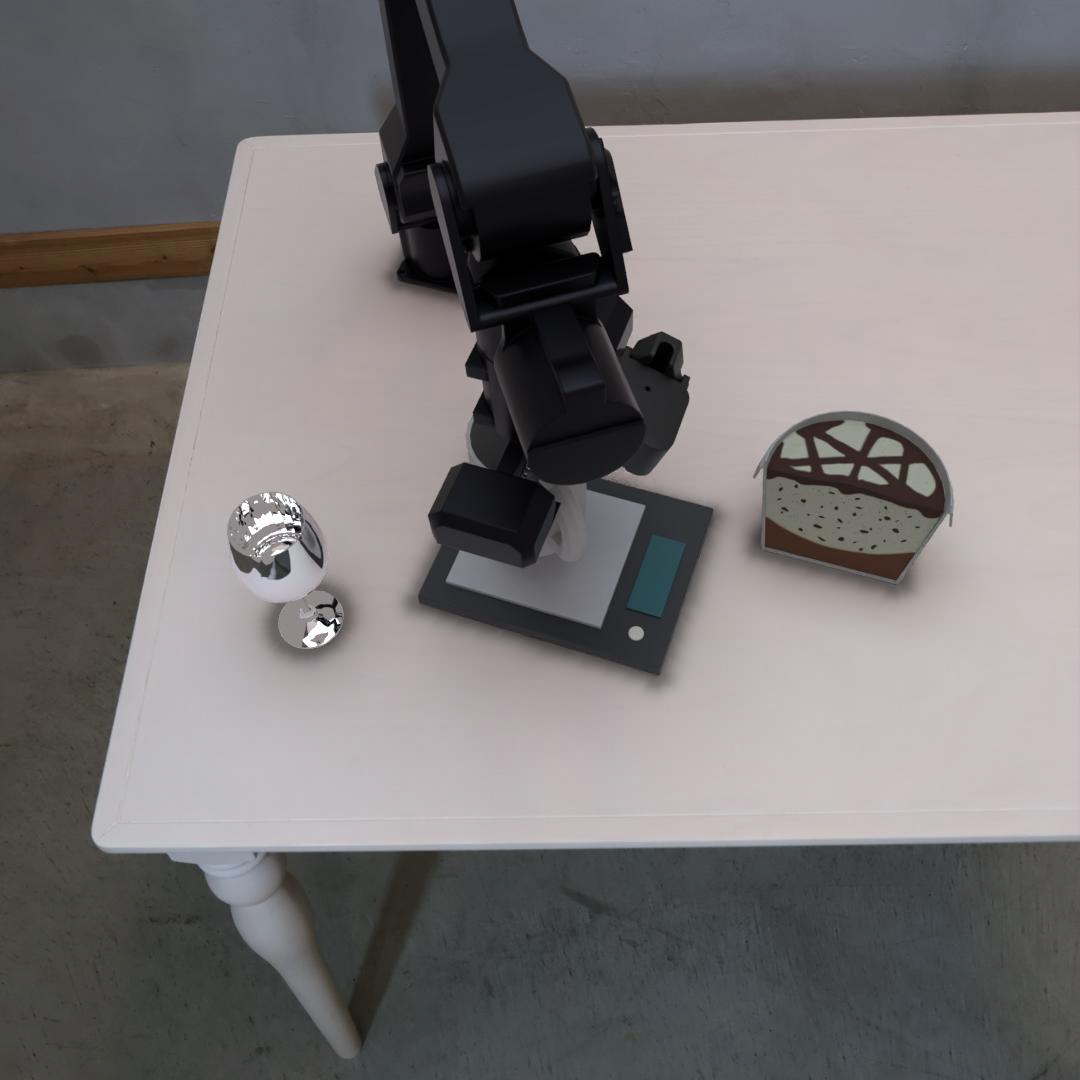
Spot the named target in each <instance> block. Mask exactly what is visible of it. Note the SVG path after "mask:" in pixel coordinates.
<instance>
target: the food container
mask: <svg viewBox="0 0 1080 1080" xmlns="http://www.w3.org/2000/svg"><path fill="white" fill-rule="evenodd" d="M761 469H762V497H761V498H762V499H761V500H762V503H761V532H760V533H761V535H760V537H761V538H760V543H761V544H760V550H762V551H766V552H769V553H773V554H778V555H782V556H786V557H789V558H792V559H797V560H800V561H804V562H808V563H813V564H817V565H820V566H824V567H828V568H831V569H836V570H839V571H844V572H847V573H851V574H855V575H859V576H863V577H867V578H870V579H874V580H878V581H882V582H886V583H890V584H893V585H899V584H900V583H901V581H902V580H903V579H904V577H905V576H906V574H907V573H908V572H909V570H910V569H911V568H912V566H913V564H914V563H915V561H916V560H917V559H918V557H919V556H920V554H922V552H923V550H924V549H925V547H926V546H927V544H928V543H929V541H930V540H931V538H932V537H933V536H934V534H935V533H936V531H937V530H938V529H939V527H940V526H941V524H942V523H943V521H945V518H946V517H948V515H949V521H948V522H949V523H948V527H949V528H951V527H953V520H954V509H955V507H954V506H955V497H954V488H953V486H952V481H951V477H950V474H949V472H948V470H947V468H946V465H945V464H944V461H943V460H942V457H940V455H939V453H937V451H936V450H935V448H934V447H933V446H931V444H930V443H929V442H928V441H927V440H926V439H925V438H924V437H922V436H921V435H919V434H918V433H917V432H916V431H914V430H913V429H911V428H910V427H908V426H906V425H904V424H903V423H901V422H898V421H896V420H894V419H891V418H889V417H887V416H883V415H880V414H877V413H873V412H866V411H861V410H836V411H835V410H834V411H833V410H832V411H828V412H822V413H818V414H814V415H812V416H809V417H806V418H804V419H802V420H800V421H798V422H796V423H794V424H792V425H791V426H790V427H789V428H787V429H786V430H785V431H783V432H782V433H781V434H780V435H778V437H777V438H776V439H775V440H774V441H773V442H772V443H771V444H770V445H769V447H768V449H767V450H766V451H765V452H764V455H763V456H762V458H761V460H760V461H759V463H758V465H757V466H756V469H755V471H754V473H753V476H752V479H756V478H757V477H758V475H759V473H760V472H761Z"/></svg>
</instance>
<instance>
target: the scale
mask: <svg viewBox="0 0 1080 1080" xmlns="http://www.w3.org/2000/svg"><path fill="white" fill-rule="evenodd" d="M586 491H587V507H586V515H585V525H586V531H587V537H588V546H587V550H586V552H585V554H584V555H583V556H582V557H581V559H579V560H578V561H574V562H566V561H564V560H562V559H561V558H560V557H559V556H558V555H557V554H556V553H552V554H550V555H547V556H541V557H538V559H537V562H536V563H535V564H532V565H530V566H528V567H525V568H523V569H522V568H519V567H516V566H512V565H509V564H505V563H502V562H498V561H495V560H492V559H488V558H485V557H481V556H478V555H474V554H471V553H467V552H464V551H461V550H457V549H454V548H450V547H447V546H443V545H440V547H439V550H438V552H437V554H436V556H435V559H434V560H433V563H432V564H431V567H430V569H429V571H428V573H427V575H426V577H425V579H424V582H423V584H422V586H421V588H420V590H419V592H418V594H417V599H418V602H419V603H420V604H422V605H426V606H429V607H432V608H435V609H439V610H442V611H446V612H449V613H452V614H455V615H458V616H461V617H465V618H469V619H471V620H474V621H475V620H476V621H479V622H482V623H485V624H488V625H492V626H494V627H495V626H496V627H497V628H501V629H506V630H508V631H510V632H511V631H512V632H515V633H517V634H522V635H525V636H527V637H532V638H535V639H538V640H541V641H544V642H548V643H551V644H555V645H558V646H561V647H564V648H568V649H571V650H575V651H578V652H580V653H584V654H588V655H591V656H594V657H597V658H600V659H603V660H607V661H611V662H614V663H617V664H620V665H624V666H627V667H630V668H633V669H636V670H637V669H638V670H641V671H644V672H647V673H650V674H653V675H657V676H659V675H661V673H662V669H663V666H664V664H665V663H664V662H665V660H666V657H667V654H668V652H669V648H670V645H671V642H672V640H673V636H674V633H675V630H676V627H677V624H678V622H679V618H680V615H681V612H682V610H683V607H684V604H685V599H686V597H687V594H688V591H689V588H690V585H691V582H692V579H693V576H694V573H695V571H696V568H697V564H698V561H699V558H700V554H701V552H702V549H703V546H704V543H705V540H706V537H707V534H708V531H709V529H710V525H711V522H712V519H713V515H714V508H713V507H709V506H706V505H703V504H698V503H695V502H691V501H688V500H683V499H680V498H676V497H672V496H668V495H665V494H660V493H657V492H653V491H651V490H646V489H642V488H639V487H633V486H631V485H628V484H627V485H626V484H624V483H618V482H616V481H612V480H609V479H604V478H599V479H597V480H594V481H591V482H588V483H586Z"/></svg>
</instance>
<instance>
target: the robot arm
mask: <svg viewBox="0 0 1080 1080" xmlns="http://www.w3.org/2000/svg"><path fill="white" fill-rule="evenodd" d="M377 2H378V7H379V14H380V19H381V26H382V30H383V36H384V37H383V38H384V43H385V48H386V54H387V55H386V56H387V61H388V67H389V72H390V73H389V74H390V78H391V85H392V90H393V96H394V105H393V107H392V108H391V110H390V112H389V113H388V115H387V117H386V119H385V121H384V122H383V124H382V125H381V127H380V129H379V131H378V137H379V142H380V148H381V154H382V160H383V162H379V163H376V164H375V167H374V170H373V172H374V176H375V181H376V185H377V189H378V193H379V197H380V198H379V199H380V200H381V203H382V207H383V210H384V213H385V216H386V219H387V222H388V226H389V229H390V233H391V234H392V235H395V234H398V236H399V241H400V247H401V251H402V255H403V256H402V257H403V260H402V261H401V262H400V265H399V267H398V268H397V270H396V277H397V279H398V280H399V281H402V282H407V283H411V284H416V285H419V286H423V287H427V288H433V289H436V290H440V291H445V292H449V293H453V294H456V295H457V296H458V300H459V304H460V308H461V310H462V313H463V315H464V318H465V321H466V324H467V327H468V330H469V332H470V334H473V333H474V334H475V341H476V342H475V344H474V346H473V348H472V349H471V351H470V353H469V355H468V357H467V359H466V361H465V362H464V367H465V368H464V369H465V374H466V377H467V378H471V379H474V380H479V381H482V382H481V383H482V388H483V389H482V392H481V394H480V396H479V398H478V399H477V402H476V404H475V406H474V408H473V410H472V412H471V413H472V415H473V419H474V423H475V424H479V425H483V426H487V427H490V428H494V429H496V432H497V433H498V434H499V435H500V436H501V437H503V438H504V439H506V440H507V441H509V443H508V445H507V447H506V450H505V452H504V454H503V456H502V458H501V461H500V463H499V465H498V467H497V469H496V471H495V470H491V469H487V468H484V467H480V466H476V465H473V464H470V462H465V461H464V462H461V463H459V464H456V465H454V466H450V468H449V470H448V473H447V474H446V476H445V479H444V481H443V483H442V485H441V487H440V489H439V491H438V492H437V495H436V497H435V499H434V501H433V503H432V505H431V507H430V509H429V512H428V514H427V518H428V523H429V526H430V527H429V528H430V532H431V534H432V536H433V538H434V539H435V542H436V544H437V545H440V546H441V545H443V546H447V547H450V548H454V549H457V550H461V551H464V552H467V553H471V554H474V555H478V556H481V557H485V558H488V559H492V560H495V561H498V562H502V563H505V564H509V565H512V566H516V567H519V568H522V569H523V568H525V567H528V566H530V565H532V564H535V563H536V562H537V559H538V557H539V554H540V552H541V550H542V547H543V545H544V542H545V540H546V537H547V536H548V534H549V531H550V529H551V526H552V524H553V522H554V519H555V517H556V514H557V512H558V510H559V507H560V505H561V503H560V502H557V501H555V496H554V495H553V494H552V493H551V492H549V491H548V490H547V489H546V488H545V487H544V486H543V485H542V484H541V483H539V481H540V480H541V481H543V482H545V483H549V484H553V485H567V486H570V485H577V484H584V483H588V482H591V481H594V480H597V479H599V478H601V479H603V478H605V477H607V476H608V475H611V474H613V473H614V472H616V471H617V470H620V469H621V468H623V469H624V470H625V471H626V472H628V473H629V474H632V475H634V476H638V477H645V476H647V475H650V474H651V473H652V472H653V470H654V469H655V468H656V467H657V465H659V463H660V461H662V459H663V458H664V457H665V455H666V454H667V453H668V452H669V450H670V449H672V447H673V446H674V444H675V441H676V438H677V437H678V434H679V431H680V428H681V425H682V423H683V420H684V417H685V415H686V412H687V409H688V407H689V403H690V393H689V391H688V389H689V386H690V380H691V376H689V375H687V374H682V368H683V365H684V361H685V360H684V359H685V358H684V349H683V347H684V346H683V342H682V340H681V339H679V338H677V337H674V336H673V335H671V334H669V333H667V332H665V331H662V330H661V331H658V332H655V333H653V334H650V335H648V336H645V337H642V338H641V339H638V340H637V342H635V345H634V346H633V347H631V346H629V345H628V343H629V340H630V338H631V336H632V333H633V331H634V329H633V328H634V308H632V307H631V306H630V305H629V304H628V303H627V302H626V301H625V300H624V299H623V298H622V297H621V296H624V295H627V294H630V287H629V280H628V275H627V270H626V264H625V258H624V254H627V253H630V252H633V251H634V249H633V244H632V239H631V236H630V229H629V226H628V222H627V221H628V220H627V217H626V211H625V208H624V204H623V203H624V202H623V199H622V195H621V189H620V186H619V181H618V176H617V171H616V167H615V163H614V159H613V155H612V154H611V152H610V150H609V149H608V148H606V147H605V143H604V140H603V137H599V135H598V133H597V131H596V130H595V128H594V127H591V126H589V127H586V126H585V123H584V120H583V117H582V115H581V112H580V109H579V107H578V104H577V102H576V99H575V96H574V94H573V93H574V92H573V90H572V87H571V85H570V83H569V81H568V78H567V77H566V76H565V75H563V74H562V73H561V72H560V71H558V70H557V69H556V68H555V67H553V66H552V65H551V64H550V63H548V62H547V61H546V60H545V59H544V58H542V57H541V56H540V55H538V54H537V53H536V52H535V51H533V50H532V49H531V48H530V45H529V42H528V40H527V37H526V35H525V31H524V28H523V26H522V25H523V24H522V21H521V19H520V16H519V12H518V9H517V6H516V3H515V0H377ZM592 226H593V229H594V230H593V231H594V234H595V237H596V242H597V246H598V249H599V252H600V254H599V253H598V252H596V251H591V252H586V253H580V251H579V249H578V247H577V245H575V244H574V242H573V240H576V239H581V238H584V237H587V236H588V235H589V234H590V232H591V229H592ZM527 463H528V466H526V464H527ZM524 469H525V471H524ZM522 473H523V476H524V477H521V475H522Z"/></svg>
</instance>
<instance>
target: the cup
mask: <svg viewBox="0 0 1080 1080" xmlns="http://www.w3.org/2000/svg"><path fill="white" fill-rule="evenodd" d="M465 443H466V451H467V456H468V463H469V464H473V465H476V466H480V467H484V468H487V469H491V470H495V471H496V469H497V467H498V465H499V463H500V461H501V458H502V456H503V454H504V452H505V450H506V447H507V445H508V443H509V441H507V440H506V439H504V438H503V437H501V436H500V435H499V434H498V433H497V432H496V429H494V428H490V427H487V426H483V425H479V424H475V423H474V419H473V414H472V415H471V417H470V419H469V421H468V422H467V426H466V431H465ZM526 466H528V463H527V464H526ZM524 471H525V469H524ZM521 477H524V476H523V473H522V475H521ZM539 483H541V484H542V485H543V486H544V487H545V488H546V489H547V490H548V491H549V492H551V493H552V494H553V495H554V496H555V501H557V502H560V503H561V505H560V507H559V510H558V512H557V514H556V517H555V519H554V522H553V524H552V526H551V529H550V531H549V534H548V536H547V537H546V540H545V542H544V545H543V547H542V550H541V552H540V554H539V557H541V556H547V555H550V554H552V553H556V554H557V555H558V556H559V557H560V558H561V559H562V560H564V561H566V562H574V561H578V560H579V559H581V557H582V556H583V555H584V554H585V552H586V550H587V546H588V537H587V531H586V525H585V515H586V507H587V491H586V483H584V484H577V485H570V486H567V485H553V484H549V483H545V482H543V481H541V480H540V481H539Z"/></svg>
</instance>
